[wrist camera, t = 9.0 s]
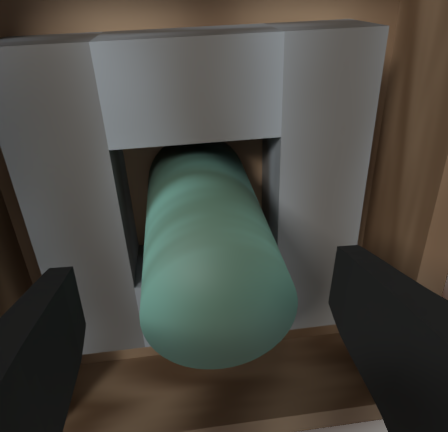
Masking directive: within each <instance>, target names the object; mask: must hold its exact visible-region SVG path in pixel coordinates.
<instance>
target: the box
mask: <svg viewBox="0 0 448 432" xmlns="http://www.w3.org/2000/svg"><path fill="white" fill-rule="evenodd" d="M211 142H225V143H227V144H228V145H229V146H230V147H231V148H232V149H233V150H234V151H235V152H236V153H237V155H238V157H239V158H240V160H241V162H242V165H243V167H244V169H245V172H246V174H247V176H248V179H249V181H250V183H251V186H252V188H253V190H254V193H255V195H256V197H257V200H258V202H259V204H260V207H261V209H262V211H263V214H264V216H265V218H266V220H267V223H268V225H269V227H270V230H271V232H272V234H273V237H274V239H275V241H276V244H277V246H278V248H279V251H280V253H281V255H282V258H283V260H284V262H285V265H286V267H287V269H288V272H289V274H290V276H291V279H292V281H293V283H294V286H295V288H296V292H297V297H298V308H297V314H296V317H295V320H294V322H293V324H292V326H291V328H290V330H289V331H288V333H287V334H286V336H285V337H284V338H283V339H282V340H281V341H280V342H279V343H278V344H277V345H276V346H275V347H274V348H272V349H271V350H270V351H268V352H267V353H265V354H264V355H262V356H260V357H259V358H256V359H254V360H252V361H250V362H247V363H245V364H242V365H238V366H234V367H230V368H224V369H195V368H190V367H185V366H182V365H179V364H176V363H174V362H172V361H169V360H168V359H166V358H164V357H162V356H161V355H160V354H159V353H157V352H156V351H155V350H154V349H153V348H152V347H151V346H150V345H149V343H148V342H147V340H146V339H145V337H144V335H143V333H142V329H141V326H140V318H139V315H140V300H141V285H142V269H143V254H144V239H145V224H146V209H147V194H148V179H149V171H150V167H151V164H152V162H153V160H154V158H155V156H156V155H157V154H158V152H159V151H160V150H161V149H162V148H163V147H164V146H172V145H185V144H198V143H211ZM349 245H359V246H361V247H363V248H364V249H366V250H368V251H369V252H371V253H373V254H374V255H376V256H377V257H379V258H380V259H382V260H384V261H385V262H387V263H388V264H390V265H391V266H393V267H394V268H396V269H397V270H399V271H400V272H402V273H404V274H405V275H407V276H408V277H410V278H411V279H413V280H415V281H416V282H418V283H419V284H421V285H423V286H424V287H426V288H427V289H429V290H431V291H432V292H434V293H436V294H437V295H439V296H442V292H443V289H444V286H445V282H446V278H447V275H448V0H0V317H1V316H2V315H3V314H4V313H5V312H6V311H7V310H8V309H9V308H10V307H11V306H12V305H13V304H14V303H15V302H16V301H17V300H18V299H19V298H20V297H21V296H22V295H23V294H24V293H25V292H26V291H27V290H28V289H29V288H30V287H31V286H32V285H33V284H34V283H35V282H36V281H37V280H38V279H39V278H40V277H41V276H42V275H43V273H44V272H46V271H47V270H48V269H49V268H57V267H70V266H73V269H74V273H75V278H76V282H77V286H78V291H79V295H80V300H81V304H82V309H83V313H84V317H85V322H86V329H85V338H84V346H83V353H82V360H81V364H80V368H79V372H78V376H77V380H76V383H75V387H74V391H73V395H72V399H71V402H70V406H69V410H68V414H67V417H66V421H65V425H64V429H63V432H296V431H303V430H311V429H318V428H325V427H332V426H338V425H346V424H352V423H359V422H366V421H374V420H381V419H383V418H382V416H381V414H380V412H379V410H378V408H377V406H376V404H375V402H374V400H373V398H372V396H371V394H370V392H369V390H368V388H367V386H366V385H365V383H364V381H363V379H362V377H361V375H360V373H359V371H358V369H357V367H356V365H355V364H354V362H353V360H352V358H351V356H350V354H349V352H348V350H347V348H346V346H345V344H344V342H343V340H342V338H341V336H340V334H339V332H338V329H337V326H336V324H335V321H334V318H333V315H332V312H331V309H330V306H329V303H328V301H329V294H330V288H331V282H332V276H333V269H334V263H335V257H336V251H337V246H349Z"/></svg>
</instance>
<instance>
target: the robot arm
mask: <svg viewBox="0 0 448 432" xmlns="http://www.w3.org/2000/svg"><path fill="white" fill-rule="evenodd" d="M328 303H329V306H330V309H331V312H332V315H333V318H334V321H335V324H336V326H337V329H338V332H339V334H340V336H341V338H342V340H343V342H344V344H345V346H346V348H347V350H348V352H349V354H350V356H351V358H352V360H353V362H354V364H355V365H356V367H357V369H358V371H359V373H360V375H361V377H362V379H363V381H364V383H365V385H366V386H367V388H368V390H369V392H370V394H371V396H372V398H373V400H374V402H375V404H376V406H377V408H378V410H379V412H380V414H381V416H382V418H383V420H384V423H385V425H386V428H387V430H388V432H448V300H446V299H444V298H443V297H441V296H439V295H437V294H436V293H434V292H432V291H431V290H429V289H427V288H426V287H424V286H423V285H421V284H419V283H418V282H416V281H415V280H413V279H411V278H410V277H408V276H407V275H405V274H404V273H402V272H400V271H399V270H397V269H396V268H394V267H393V266H391V265H390V264H388V263H387V262H385V261H384V260H382V259H380V258H379V257H377V256H376V255H374V254H373V253H371V252H369V251H368V250H366V249H364V248H363V247H361V246H359V245H349V246H337V251H336V257H335V263H334V269H333V276H332V282H331V288H330V294H329V301H328ZM85 329H86V322H85V317H84V313H83V309H82V304H81V300H80V295H79V291H78V286H77V282H76V278H75V273H74V269H73V266H70V267H57V268H49V269H48V270H47V271H46V272H44V273H43V275H42V276H41V277H40V278H39V279H38V280H37V281H36V282H35V283H34V284H33V285H32V286H31V287H30V288H29V289H28V290H27V291H26V292H25V293H24V294H23V295H22V296H21V297H20V298H19V299H18V300H17V301H16V302H15V303H14V304H13V305H12V306H11V307H10V308H9V309H8V310H7V311H6V312H5V313H4V314H3V315H2V316H1V317H0V432H63V429H64V425H65V421H66V417H67V414H68V410H69V406H70V402H71V399H72V395H73V391H74V387H75V383H76V380H77V376H78V372H79V368H80V364H81V360H82V353H83V346H84V338H85Z"/></svg>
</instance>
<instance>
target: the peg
mask: <svg viewBox="0 0 448 432" xmlns="http://www.w3.org/2000/svg"><path fill="white" fill-rule="evenodd" d="M297 308H298V297H297V292H296V288H295V286H294V283H293V281H292V279H291V276H290V274H289V272H288V269H287V267H286V265H285V262H284V260H283V258H282V255H281V253H280V251H279V248H278V246H277V244H276V241H275V239H274V237H273V234H272V232H271V230H270V227H269V225H268V223H267V220H266V218H265V216H264V214H263V211H262V209H261V207H260V204H259V202H258V200H257V197H256V195H255V193H254V190H253V188H252V186H251V183H250V181H249V179H248V176H247V174H246V172H245V169H244V167H243V165H242V162H241V160H240V158H239V157H238V155H237V153H236V152H235V151H234V150H233V149H232V148H231V147H230V146H229V145H228V144H227V143H225V142H211V143H198V144H185V145H172V146H164V147H163V148H162V149H161V150H160V151H159V152H158V154H157V155H156V156H155V158H154V160H153V162H152V164H151V167H150V171H149V179H148V194H147V209H146V224H145V239H144V254H143V269H142V285H141V300H140V315H139V318H140V326H141V329H142V333H143V335H144V337H145V339H146V340H147V342H148V343H149V345H150V346H151V347H152V348H153V349H154V350H155V351H156V352H157V353H159V354H160V355H161V356H162V357H164V358H166V359H168V360H169V361H172V362H174V363H176V364H179V365H182V366H185V367H190V368H195V369H224V368H230V367H234V366H238V365H242V364H245V363H247V362H250V361H252V360H254V359H256V358H259V357H260V356H262V355H264V354H265V353H267V352H268V351H270V350H271V349H272V348H274V347H275V346H276V345H277V344H278V343H279V342H280V341H281V340H282V339H283V338H284V337H285V336H286V334H287V333H288V331H289V330H290V328H291V326H292V324H293V322H294V320H295V317H296V314H297Z"/></svg>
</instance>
